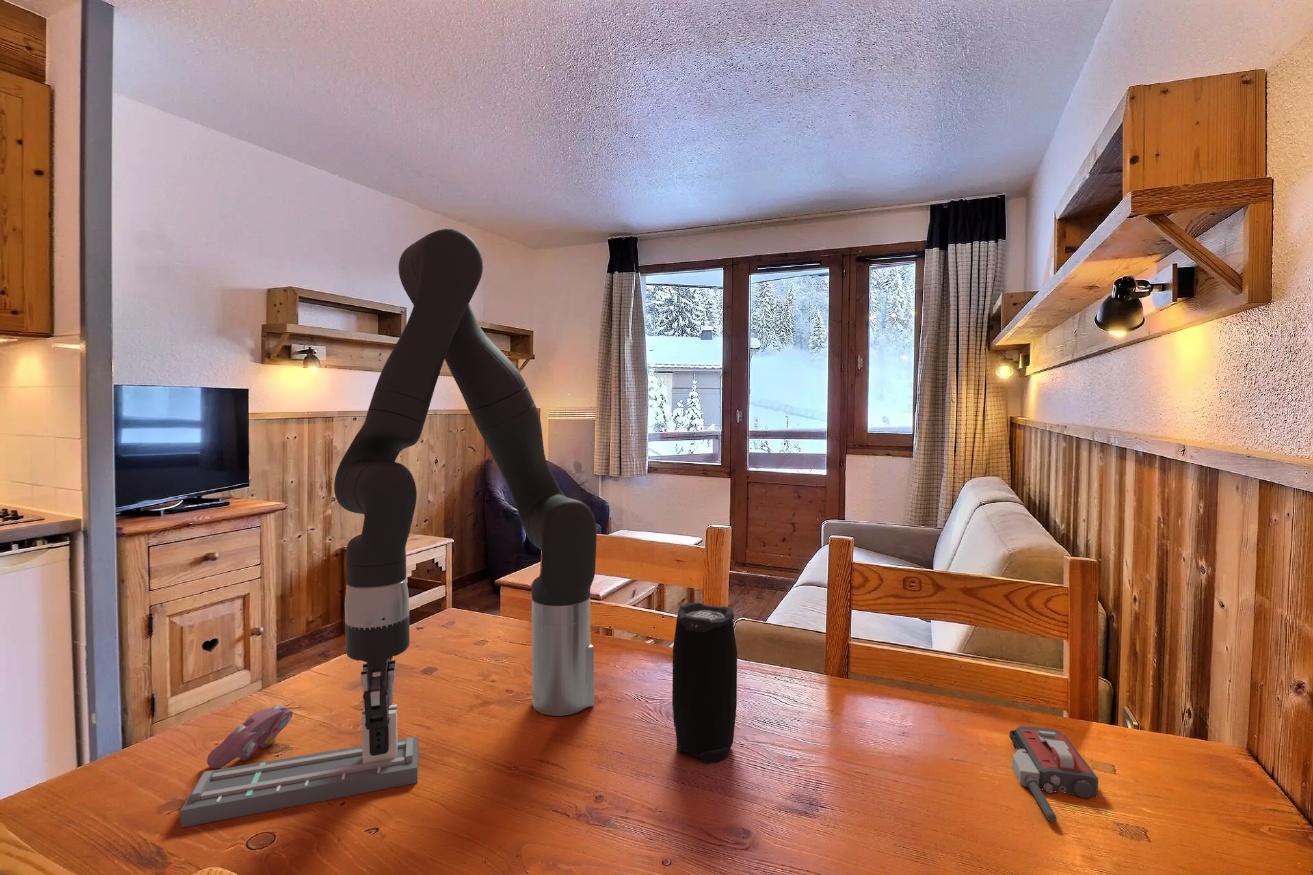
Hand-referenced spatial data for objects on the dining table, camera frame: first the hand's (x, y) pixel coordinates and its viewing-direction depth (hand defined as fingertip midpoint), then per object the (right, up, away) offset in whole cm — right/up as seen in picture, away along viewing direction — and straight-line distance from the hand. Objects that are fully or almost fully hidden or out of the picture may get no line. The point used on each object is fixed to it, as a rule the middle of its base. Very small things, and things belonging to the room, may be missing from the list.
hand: (380, 745), depth 82 cm
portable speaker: (+43, -4, +6) cm, 43 cm away
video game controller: (-20, -4, +5) cm, 21 cm away
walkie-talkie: (+87, -5, -1) cm, 87 cm away
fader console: (-7, -4, -3) cm, 9 cm away
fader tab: (0, -2, 0) cm, 2 cm away
